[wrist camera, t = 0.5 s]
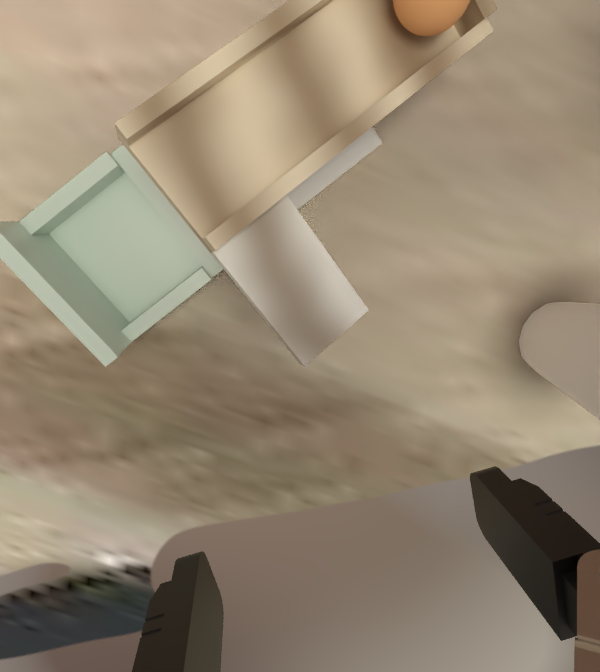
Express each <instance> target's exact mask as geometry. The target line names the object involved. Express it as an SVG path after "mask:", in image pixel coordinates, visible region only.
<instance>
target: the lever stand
mask: <svg viewBox="0 0 600 672" xmlns="http://www.w3.org/2000/svg"><path fill="white" fill-rule="evenodd" d="M381 144H382V141H381V140H380V138H379V136H378V135H377V133H376V131H375V130H374V128H373V127H371V128H370V129H369V130H367V131H366V132H365V133H364V134H362V135H361V136H360V137H359V138H357V139H356V140H355V141H354V142H352V143H351V144H350V145H348V146H347V147H346V148H345V149H343V150H342V151H341V152H340V153H338V154H337V155H336V156H335V157H333V158H332V159H331V160H329V161H328V162H327V163H326V164H324V165H323V166H322V167H321V168H319V169H318V170H317V171H316V172H314V173H313V174H312V175H310V176H309V177H308V178H307V179H305V180H304V181H303V182H302V183H300V184H299V185H298V186H297V187H295V188H294V189H293V190H292V191H290V192H289V193H288V194H286V195H287V196H288V197H289V199H290V200H291V202H292V203H293V204H294V206H295V207H296V209H297V210H298V209H299V208H300V207H302V206H303V205H304V204H305V203H307V202H308V201H309V200H310V199H312V198H313V197H314V196H316V195H317V194H318V193H319V192H321V191H322V190H323V189H325V188H326V187H327V186H328V185H330V184H331V183H332V182H334V181H335V180H336V179H337V178H339V177H340V176H341V175H343V174H344V173H345V172H346V171H348V170H349V169H350V168H351V167H353V166H354V165H355V164H357V163H358V162H359V161H360V160H362V159H363V158H364V157H366V156H367V155H368V154H369V153H371V152H372V151H373V150H375V149H376V148H377V147H378V146H380V145H381Z"/></svg>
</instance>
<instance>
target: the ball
mask: <svg viewBox="0 0 600 672" xmlns="http://www.w3.org/2000/svg"><path fill="white" fill-rule="evenodd" d="M469 2H470V0H393V6H394V10H395V13H396V15H397V18H398V19H399V21H400V23H401V24H402V25H403V26H404V27H405V28H406V29H407V30H408V31H410V32H412V33H413V34H416V35H420V36H433V35H437V34H440V33H442V32H444V31H446V30H447V29H449V28H450V27H452V26H453V25H454V24H455V23H456V22H457V21H458V20H459V19H460V18H461V16H462V15H463V13H464V12H465V10H466V9H467V6H468V4H469Z"/></svg>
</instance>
